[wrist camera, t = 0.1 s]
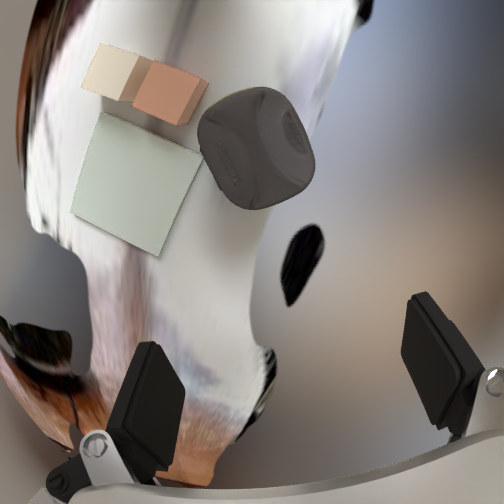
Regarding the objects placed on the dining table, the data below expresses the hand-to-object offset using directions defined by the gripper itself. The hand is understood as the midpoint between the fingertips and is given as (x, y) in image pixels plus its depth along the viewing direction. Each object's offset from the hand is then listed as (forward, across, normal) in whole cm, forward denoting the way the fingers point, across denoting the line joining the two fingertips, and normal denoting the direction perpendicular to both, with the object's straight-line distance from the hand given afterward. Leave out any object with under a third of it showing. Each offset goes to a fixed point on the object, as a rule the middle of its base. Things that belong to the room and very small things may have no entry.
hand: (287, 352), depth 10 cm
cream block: (+31, +14, -18) cm, 39 cm away
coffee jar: (+31, 0, -5) cm, 32 cm away
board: (+31, +18, -3) cm, 36 cm away
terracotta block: (+31, +8, -13) cm, 35 cm away
